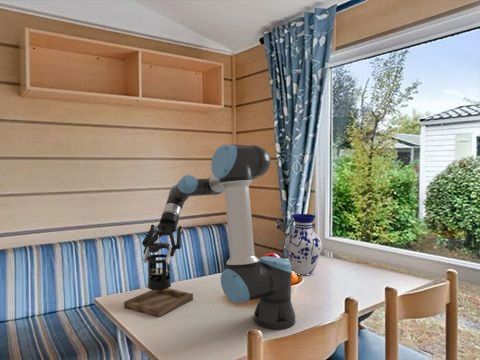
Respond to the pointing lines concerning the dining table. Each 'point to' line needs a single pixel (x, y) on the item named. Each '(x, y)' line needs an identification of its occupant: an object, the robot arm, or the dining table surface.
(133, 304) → the walnut tray
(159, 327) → the dining table surface
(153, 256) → the french press
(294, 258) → the vase
